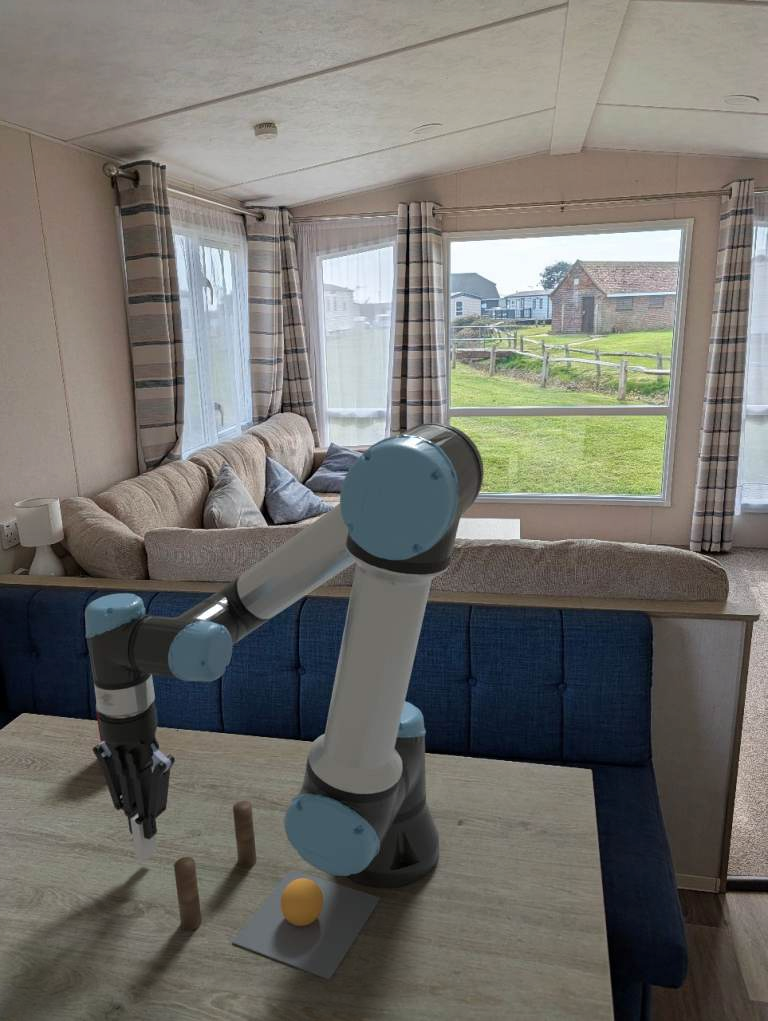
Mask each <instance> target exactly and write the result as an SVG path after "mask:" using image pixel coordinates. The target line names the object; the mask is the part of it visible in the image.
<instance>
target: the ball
mask: <svg viewBox="0 0 768 1021" xmlns="http://www.w3.org/2000/svg"><path fill="white" fill-rule="evenodd" d="M322 907H323V894H322V891H321V889H320V888H319V886H318V885H317V884H316V883H315V882H314V881H312V880H310V879H306V878H300V879H296V880H294V881H292V882H291V883H289V884H288V885H287V886H286V888H285V889H284V891H283V893H282V896H281V910H282V913H283V915H284V917H285V918H286V919H287V920H288V921H289V922H290V923H292V924H294V925H297V926H305V925H308V924H310V923H312V922H314V921H315V920H316V919H317V918H318V916H319V915H320V913H321V911H322Z"/></svg>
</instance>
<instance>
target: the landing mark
mask: <svg viewBox="0 0 768 1021" xmlns="http://www.w3.org/2000/svg"><path fill="white" fill-rule="evenodd" d="M300 878H306V879H310V880H312V881H314V882H315V883H316V884H317V885H318V886H319V888H320V889H321V891H322V894H323V907H322V911H321V913H320V915H319V916H318V918H317V919H316V920H315V921H314V922H312V923H310V924H308V925H305V926H297V925H294V924H292V923H290V922H289V921H288V920H287V919H286V918H285V917H284V915H283V913H282V910H281V896H282V893H283V891H284V889H285V888H286V886H287V885H288V884H289V883H291V882H292V881H294V880H296V879H300ZM380 900H381V896H378V895H377V896H376V895H374V894H370V893H368V892H364V891H362V890H357V889H355V888H351V887H348V886H345V885H342V884H339V883H335V882H333V881H329V880H325V879H323V878H319V877H318V876H317V877H316V876H314V875H310V874H308V873H304V872H301V871H297V870H296V869H295V870H294V869H290V870H289V872H288V873H287V874H286V875H285V876H284V877H283V879H282V880H281V881H280V882H279V884H278V885H277V886H276V887H275V888H274V889H273V891H272V892H271V893H270V895H269V896H268V898H266V900H265V901H264V902H263V903H262V905H261V906H260V907H259V908H258V910H256V912H255V913H254V915H253V916H252V917H251V918H250V919H249V920H248V922H247V923H246V924H245V925H244V927H243V928H242V929H241V930H240V932H239V933H238V934H237V936H236V937H235V938H234V939H233V941H232V942H231V943H232V944H233V945H235V946H238V947H241V948H244V949H247V950H248V951H249V950H250V951H252V952H254V953H257V954H259V955H262V956H264V957H268V958H270V959H273V960H275V961H278V962H281V963H283V964H286V965H288V966H291V967H294V968H296V969H299V970H302V971H304V972H307V973H310V974H312V975H315V976H317V977H321V978H323V979H326V980H329V981H330V980H331V979H332V978H333V976H334V974H335V973H336V971H337V969H338V968H339V966H340V964H341V963H342V961H343V959H344V958H345V956H346V955H347V953H348V951H349V949H350V948H351V946H352V944H353V943H354V942H355V940H356V939H357V937H358V936H359V934H360V932H361V930H362V929H363V927H364V925H365V924H366V922H367V921H368V919H369V917H370V916H371V914H372V913H373V911H374V909H375V908H376V906H377V904H378V903H379V902H380Z"/></svg>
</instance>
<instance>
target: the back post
mask: <svg viewBox="0 0 768 1021" xmlns="http://www.w3.org/2000/svg"><path fill="white" fill-rule="evenodd" d="M232 806H233V807H232V811H233V823H234V831H235V833H234V834H235V842H236V843H235V844H236V851H237V852H236V853H237V862H238V865H239V866H240V867H243V868H247V867H251V866H253V865H255V864H256V862H257V851H256V850H257V849H256V840H255V830H254V829H255V828H254V819H253V807H252V803H251V802H250V801H247V800H241V801H238V802H236V803H235V804H234V805H232Z"/></svg>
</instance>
